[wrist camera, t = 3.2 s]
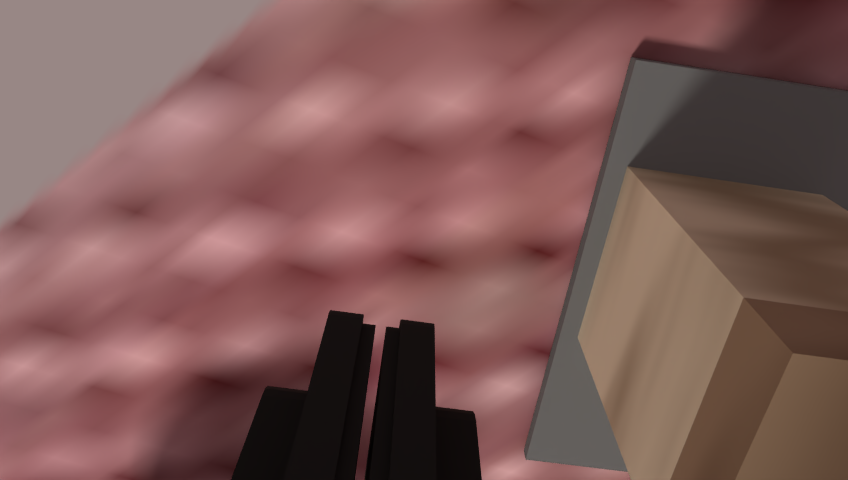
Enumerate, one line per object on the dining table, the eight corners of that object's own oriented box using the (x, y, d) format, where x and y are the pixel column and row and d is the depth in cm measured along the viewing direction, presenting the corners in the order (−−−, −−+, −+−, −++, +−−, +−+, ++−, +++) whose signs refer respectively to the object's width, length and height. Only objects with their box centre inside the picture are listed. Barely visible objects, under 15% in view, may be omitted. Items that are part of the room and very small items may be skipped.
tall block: (822, 195, 16) (1143, 399, 9) (751, 360, 18) (965, 636, 11) (627, 166, 16) (793, 353, 9) (577, 337, 18) (678, 605, 11)
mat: (1185, 143, 16) (1203, 147, 16) (951, 502, 21) (960, 512, 21) (631, 56, 15) (635, 59, 15) (523, 449, 20) (525, 459, 20)
